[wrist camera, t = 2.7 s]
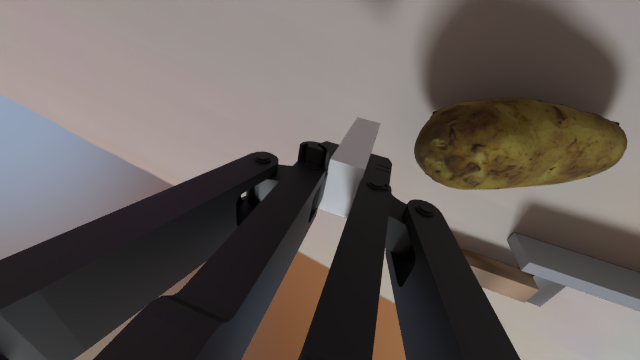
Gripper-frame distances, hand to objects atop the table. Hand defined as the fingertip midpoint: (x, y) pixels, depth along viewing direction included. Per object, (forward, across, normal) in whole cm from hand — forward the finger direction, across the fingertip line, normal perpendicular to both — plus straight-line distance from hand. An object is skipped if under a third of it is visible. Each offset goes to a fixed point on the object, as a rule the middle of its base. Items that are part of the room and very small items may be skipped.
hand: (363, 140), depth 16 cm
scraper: (+9, +17, -14) cm, 24 cm away
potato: (+9, +10, +1) cm, 13 cm away
